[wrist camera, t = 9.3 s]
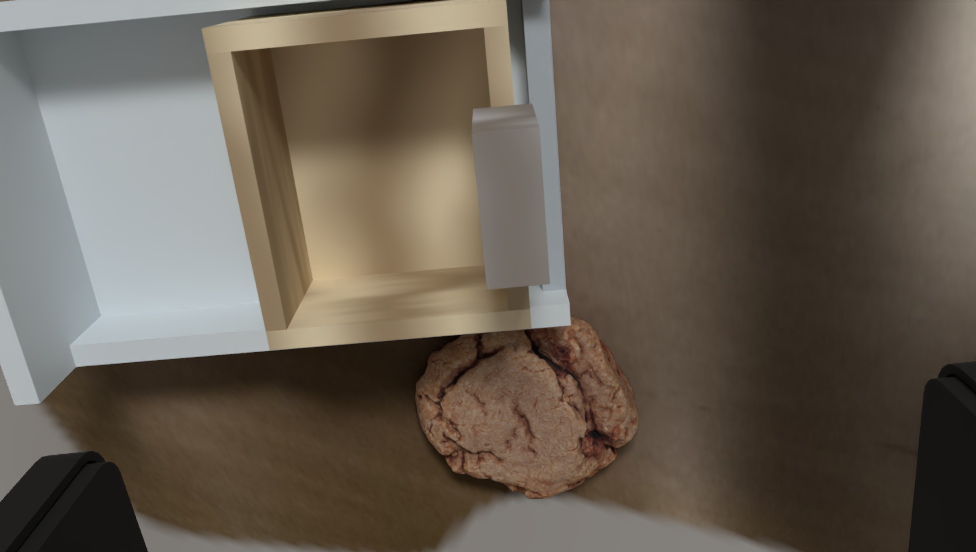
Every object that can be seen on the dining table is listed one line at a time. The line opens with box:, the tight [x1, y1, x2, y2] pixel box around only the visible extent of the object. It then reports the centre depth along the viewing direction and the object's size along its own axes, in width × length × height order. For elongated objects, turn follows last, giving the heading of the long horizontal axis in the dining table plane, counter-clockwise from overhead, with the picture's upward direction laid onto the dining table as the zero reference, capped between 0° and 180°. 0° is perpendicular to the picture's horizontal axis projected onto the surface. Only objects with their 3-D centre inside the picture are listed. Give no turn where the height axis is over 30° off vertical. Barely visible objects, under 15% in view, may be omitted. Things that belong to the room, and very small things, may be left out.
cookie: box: [415, 315, 639, 499], centre depth 38 cm, size 10×11×3 cm
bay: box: [0, 0, 571, 405], centre depth 32 cm, size 22×15×7 cm, turn 95°
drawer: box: [202, 0, 550, 350], centre depth 29 cm, size 11×12×10 cm
